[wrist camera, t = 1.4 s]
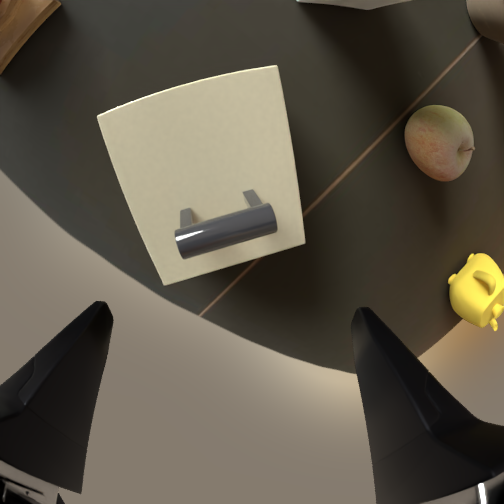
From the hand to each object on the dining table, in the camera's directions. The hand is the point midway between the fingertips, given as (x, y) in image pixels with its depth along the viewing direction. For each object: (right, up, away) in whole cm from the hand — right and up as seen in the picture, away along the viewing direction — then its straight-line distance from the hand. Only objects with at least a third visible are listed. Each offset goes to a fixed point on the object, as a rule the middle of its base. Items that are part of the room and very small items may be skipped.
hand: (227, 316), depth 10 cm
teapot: (+39, -2, +32) cm, 50 cm away
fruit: (+18, +15, +15) cm, 28 cm away
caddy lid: (-2, +7, +8) cm, 10 cm away
